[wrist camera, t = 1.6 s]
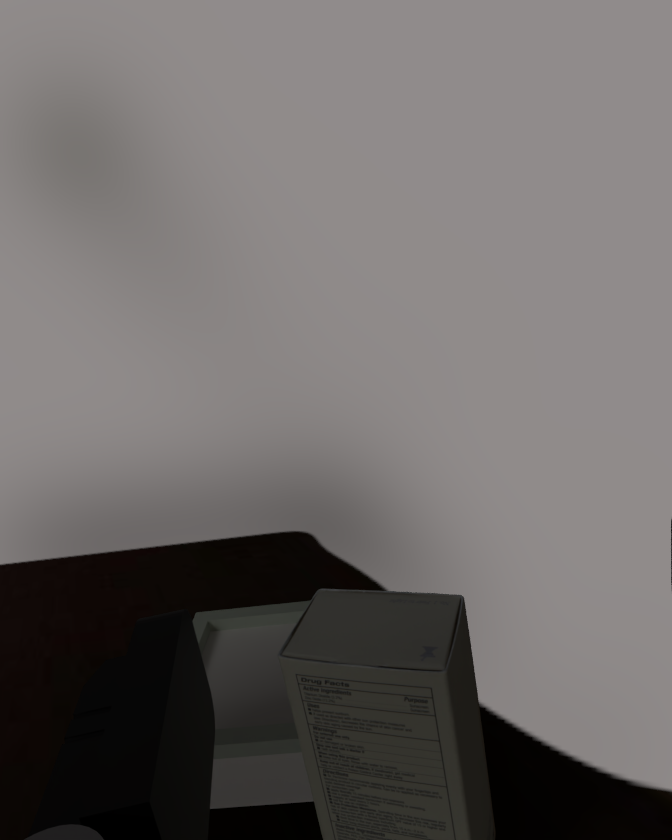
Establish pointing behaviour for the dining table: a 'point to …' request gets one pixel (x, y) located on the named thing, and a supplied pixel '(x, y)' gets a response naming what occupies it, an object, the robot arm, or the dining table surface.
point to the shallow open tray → (252, 706)
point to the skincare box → (389, 716)
